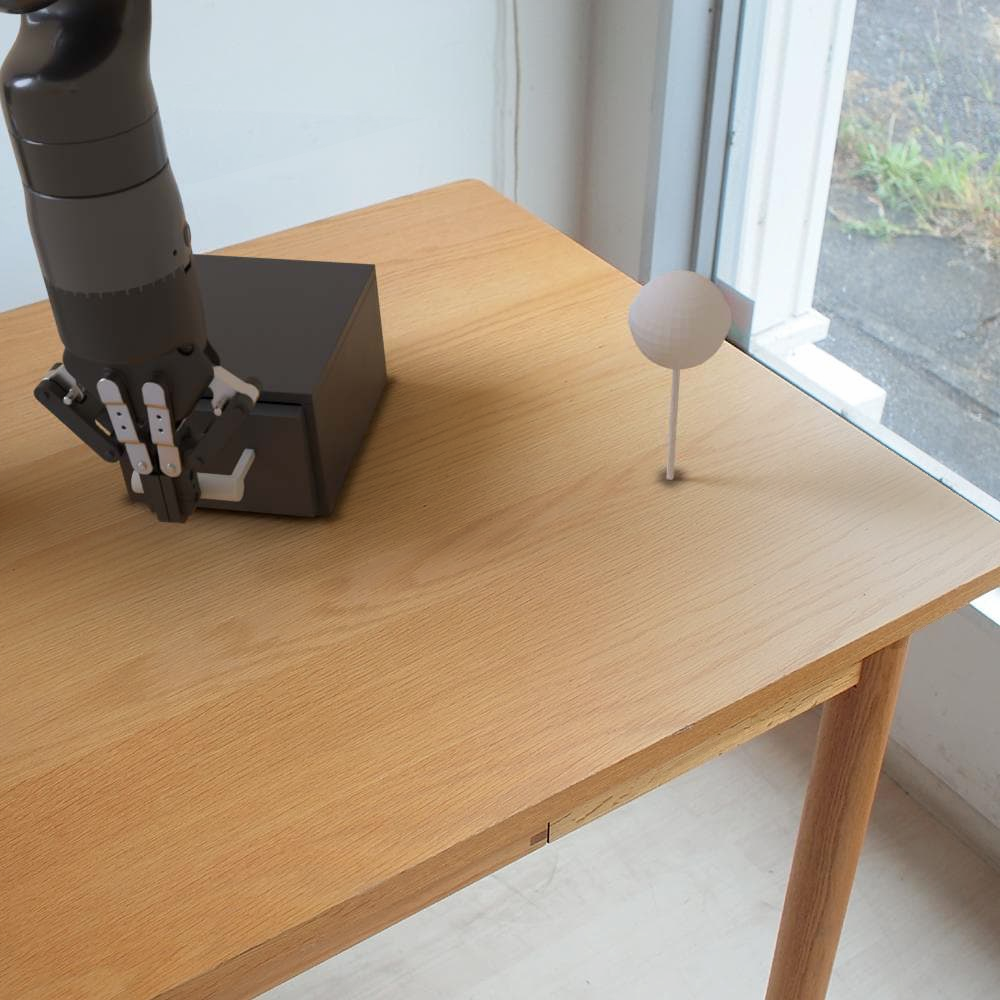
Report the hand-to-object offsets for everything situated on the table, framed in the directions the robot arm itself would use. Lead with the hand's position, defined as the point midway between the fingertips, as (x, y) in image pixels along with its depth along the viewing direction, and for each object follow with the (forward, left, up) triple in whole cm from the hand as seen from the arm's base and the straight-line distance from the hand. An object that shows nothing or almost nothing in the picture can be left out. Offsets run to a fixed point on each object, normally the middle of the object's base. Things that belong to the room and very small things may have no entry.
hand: (178, 513), depth 78 cm
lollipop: (+28, +13, -5) cm, 31 cm away
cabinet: (0, +14, -5) cm, 15 cm away
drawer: (0, +10, -4) cm, 11 cm away
